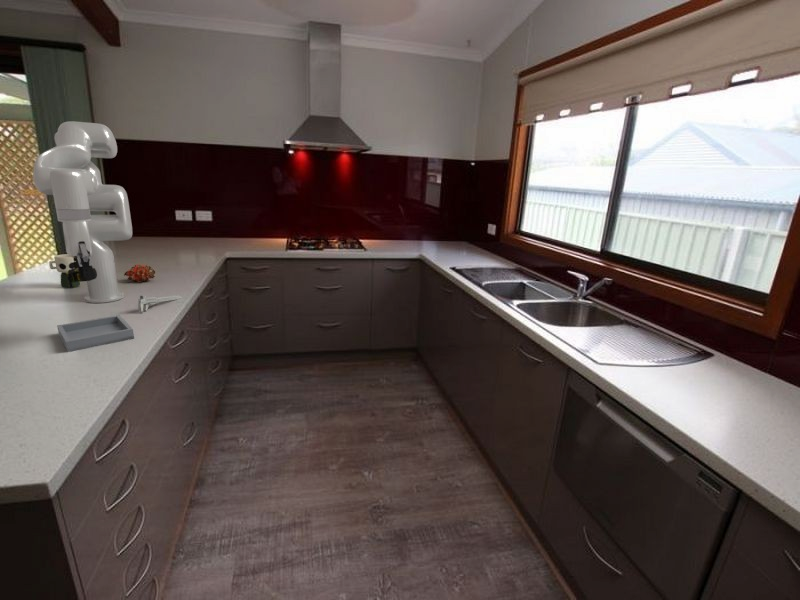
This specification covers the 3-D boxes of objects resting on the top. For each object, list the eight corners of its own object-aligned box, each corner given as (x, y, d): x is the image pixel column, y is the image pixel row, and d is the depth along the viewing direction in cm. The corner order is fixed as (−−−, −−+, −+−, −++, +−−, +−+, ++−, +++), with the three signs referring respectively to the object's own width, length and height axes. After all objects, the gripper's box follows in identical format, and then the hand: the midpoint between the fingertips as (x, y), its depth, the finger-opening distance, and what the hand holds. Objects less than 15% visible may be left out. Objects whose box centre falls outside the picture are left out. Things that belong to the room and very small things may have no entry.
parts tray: (59, 334, 126) (57, 325, 125) (120, 323, 137) (119, 314, 136) (67, 352, 115) (65, 341, 114) (134, 338, 126) (132, 329, 125)
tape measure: (69, 279, 123) (67, 267, 122) (97, 277, 126) (95, 265, 125) (68, 285, 117) (65, 272, 116) (98, 282, 121) (96, 270, 120)
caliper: (141, 314, 147) (139, 296, 145) (139, 313, 147) (136, 296, 145) (182, 298, 166) (180, 282, 165) (179, 297, 167) (178, 282, 165)
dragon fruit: (158, 284, 187) (128, 289, 183) (158, 270, 191) (128, 275, 188) (152, 272, 180) (121, 277, 176) (151, 258, 184) (121, 262, 181)
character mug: (54, 290, 166) (48, 258, 162) (53, 286, 171) (47, 255, 168) (88, 287, 173) (82, 256, 169) (86, 283, 178) (81, 253, 174)
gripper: (52, 213, 120) (64, 273, 125) (61, 219, 108) (73, 285, 113) (84, 212, 125) (94, 270, 130) (96, 218, 113) (106, 281, 119)
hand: (84, 276), depth 122 cm, fingers closed on tape measure, 7 cm apart
